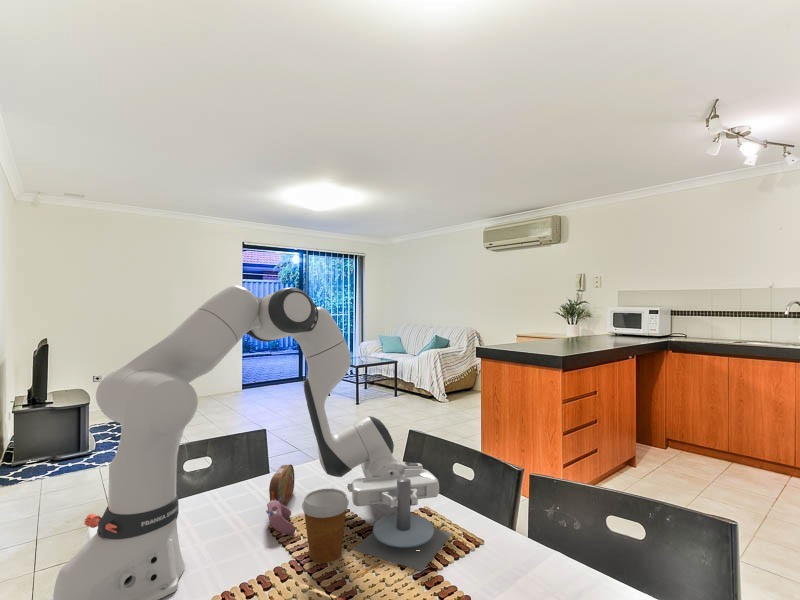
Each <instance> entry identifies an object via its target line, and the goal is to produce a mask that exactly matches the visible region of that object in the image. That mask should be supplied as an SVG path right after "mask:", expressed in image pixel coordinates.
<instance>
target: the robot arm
mask: <svg viewBox="0 0 800 600" xmlns="http://www.w3.org/2000/svg"><path fill="white" fill-rule="evenodd" d="M245 335H249V337H251V338H252V339H254V340H256V341H259V342H266V343H267V342H273V341H276V340H281V339H285V338H288V337H291V338H292V339H294V340H295V341H296V342H297V344H298V345H299V346H300V349H301V352H302V354H303V356H304V359H305V361H306V364H307V376H306V378H305V380H304V381H303V391H304V396H305V401H306V406H307V410H308V413H309V418H310V421H311V425H312V429H313V433H314V436H315V440H316V443H317V455H318V459H319V463H320V465H321V468H322V469H323V471H324V472H325V473H326V475H328V476H331V477H336V478H342V477H343V476H345V475H346V474H348V473H350V472H351V471H352V470H354V469H355V468H357V467H358V466H360V467H361V469H362V473H363V476H364V477H360V478H356V479H354V480H352V482H351V483H348V484H347V486H346V487H347V489H348V491H349V492H350V493H351V498H352V499H351V500H352V503H353V505H354V506H356V507H365V506H375V505H382V504H383V505H387V506H389V507H390V508H391V509H397V507H398V499H397V479H399V478H408V479H410V480H411V506H418V504H419V502H418V501H419V500H423V499H424V500H425V499H432V498H437V497H438V496H439V494H440V483H439V479H438V478H437V477H436V476H435V475H434V474H433V473H432V472H430V471H429V470H427V469H425V468H424V467H423V464H422V463H419V462H407V461H402V460H398V459H396V458H395V457H394V456H393V453H394V447H395V443H394V441H393V438H392V436H391V433H390V432H389V429H387V427H386V426H385V424H384V423H383V422H382V421H381V419H379V418H376V417H374V416H370V415H368V416H366V417H365V418H362V419H360V420H359V421H357V422H355V423H353V424H352V425H350V426H348V427H346V428H344V429H343V430H341V431H339V432H337V433H332V431H331V429H330V424H329V421H328V416H327V413H326V409H325V404H326V400H327V398H328V396H329V395H330V393H331V392H332V390H334V389H335V388H336V387H337V385H339V383H340V382H342V380H343V379H344V377H346V374H347V373H348V371H349V370H350V367H351V364H352V355H351V351H350V348H349V346H348V343H347V342H346V339H345V337H344V335H343V332H342V330H341V329H340V327H339V325H338V324H337V322H336V321H335V319H334V317H333V316H332V315H331V313H330V312H329V311H328V310H327V309H326V307H322V306H317V305H316V303H315V302H314V301H313V299H312V298H311V297H310V295H309V294H307V293H306V291H304V290H302V289H300V288H298V287H297V288H296V287H284V288H281V289H278V290H276V291H275V292H273V293H270V294H267V295H265V296H263V297H258V296H256V295H255V294H254V293H253V292H251V290H249V289H248V288H245V287H244V286H240V285H230V286H228V287H226V288H224V289H223V290H221V291H219V292H217V293H216V294H214V295H213V296H212V297H211V298H209V299H208V300H207V301H205V302H203V304H202V305H200V306H199V307H198V308H197V309H196V310H195V311H194V312H193V313H192V314H190V315H189V316H188V318H186V319H185V320H184V321H183V322H182V323H181V324H180V325H178V326H177V328H175V329H174V330H172V332H171V333H169V335H167V336H166V337H164V338H163V339H162V340H160V341H158V343H156V344H154V345H153V346H151V347H149V348H148V349H147V350H146V351H144V352H142V353H141V354H139V355H137V357H135V358H133V359H132V360H131V361H129V362H128V363H127V364H125V365H124V366H122V367H120V368H119V369H117V370H115V371H112V372H111V373H109V374H107V375H106V376H104V378H103V379H102V380H101V381H100V382H99V384H98V386H97V388H96V391H95V399H96V403H97V406H98V407H99V409H100V410H101V412H102V413H103V415H105V417H106V418H108V419H109V420H111V421H113V422H116V423H117V424H120V430H121V431H120V433H121V434H120V438H119V443H118V446H117V450H116V453H115V456H114V458H112V460H111V462H110V463H109V465H108V501H107V502H108V505H107V507H106V509H105V510H104V513H103V515H102V516H100V515H97V514H96V513H89V514H88V515H87V516H86V517H85V518H84V521H83V524H84V525H85V526H86V527H90V528H92V529H95V528H97V530H96V533H95V534H94V535H93V536H92V537H91V538H90V539H89V540H88V541H87V542H86V543H85V544H84V545H83V546H82V547H81V548H80V549H79V550H78V551H77V552H76V553H75V554H74V555H73V556H72V557H71V558H70V559H69V560H68V561H67V562H66V563H65V564H64V565H63V566H62V567H61V569H59V572H58V574H57V576H56V579H55V583H54V589H53V594H51V595H50V596H48V597H47V598H45V599H44V600H160V599H162V598H164V597H166V596H168V595H171V594H172V593H174V592H176V591H177V590H178V588H179V579H180V578H181V576H182V575H183V573H184V571H185V566H186V565H185V562H184V559H183V556H182V552H181V548H180V541H179V534H178V524H177V519H178V516H179V509H180V508H179V494H178V493H177V472H178V471H177V470H178V469H177V467H178V455H179V454H178V453H179V450H180V449H179V448H180V443H181V440H182V438H183V433H184V432H185V428H186V426H187V425H188V424H190V422H191V421H192V419H193V418H194V416H195V414H196V412H197V410H198V402H199V399H198V395H197V392H196V390H195V388H194V387H193V385H192V384H190V383H191V382H193V381H195V380H196V379H197V378H199V377H202V376H204V375H207V374H208V373H211V371H212V370H214V369H215V367H217V365H219V363H220V362H221V361H222V360H223V359H224V358H225V357H226V356H227V355H228V353H230V352H231V351H232V350H233V348H234V347H236V345H237V344H238V343H239V342H240V340H241V339H242V338H243V337H244V336H245Z"/></svg>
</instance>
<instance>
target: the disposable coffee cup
mask: <svg viewBox="0 0 800 600" xmlns="http://www.w3.org/2000/svg"><path fill="white" fill-rule="evenodd" d="M347 497H348V495H347V494H346V492H344V491H343V490H340V489H338V488H321V489H317V490H312V491H310V492H308V493H307V494H306V495H305V496H304V498H303V501H302V504H301V509H302V511H303V513H304V519H305V520H304V521H305V529H306V537H307V538H306V539H307V544H308V546H307V547H308V554H309V555H308V556H309V559H310V560H311V561H312V562H314V563H319V564H327V563H331V562H335V561H336V560H338V559H339V558H340V557H341V554H342V548H343V538H344V532H345V523H346V514H347V509H348V506H349V499H348V498H347Z"/></svg>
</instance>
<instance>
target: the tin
mask: <svg viewBox="0 0 800 600" xmlns="http://www.w3.org/2000/svg"><path fill="white" fill-rule="evenodd" d="M294 489H295V470H294V466H293V464H283V465H281V466H280V467H279V468H278V469H277V470H276V471H275V473H274V474H273V475H272V477H271V479H270V482H269V489H268V494H269V502H271V501H274V500H275V499H276V501H279V502H280V503H281V504H282V505H284V506H285V507H287V504H288V502H289V500H290V499H291V498H292V496H293V493H294Z"/></svg>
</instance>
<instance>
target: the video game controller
mask: <svg viewBox="0 0 800 600" xmlns="http://www.w3.org/2000/svg"><path fill="white" fill-rule="evenodd" d="M266 507H267V509H266V510H265V512H266V514H267V517H268V520H269V523H270V525H271V526H272V528H273V529H274V530H275V531H276V532H279V533H282V534H284V535H286V536H293V535H294V534H295V532H296V527H295V525H294V524H293V523H291V522H289V521H288V520H287V519H289V518H291V516H292V512H291V509H289V508H288V507H287V506H284V505H282V504H281V503H280V502H279V501H276V499H275V500H274V501H271V502H270V501H269V502H267V503H266Z"/></svg>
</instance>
